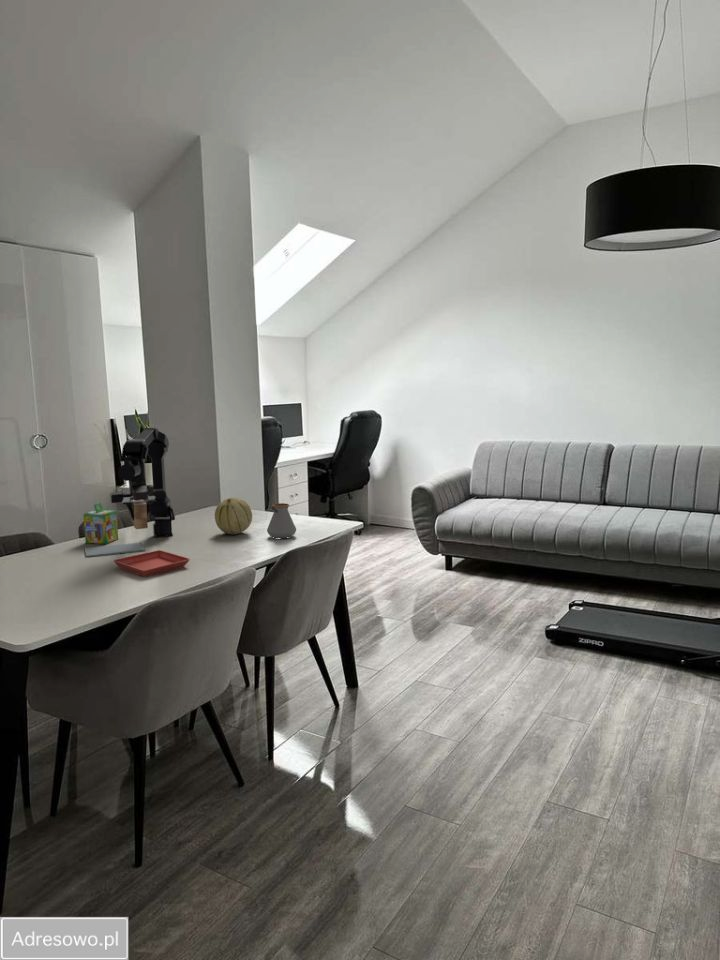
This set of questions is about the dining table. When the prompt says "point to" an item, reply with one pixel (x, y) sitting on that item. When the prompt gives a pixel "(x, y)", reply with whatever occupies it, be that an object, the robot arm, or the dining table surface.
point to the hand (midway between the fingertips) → (139, 519)
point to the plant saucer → (152, 562)
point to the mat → (114, 549)
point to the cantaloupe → (233, 516)
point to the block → (139, 514)
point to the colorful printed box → (100, 526)
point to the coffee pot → (281, 522)
